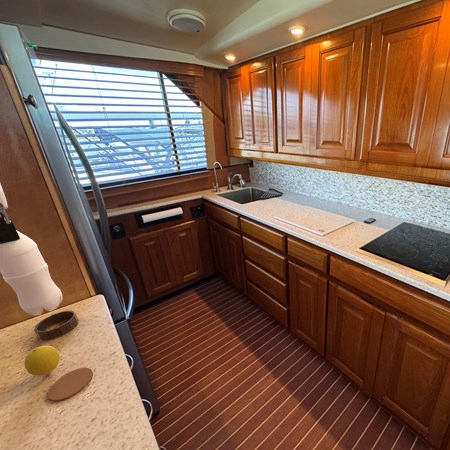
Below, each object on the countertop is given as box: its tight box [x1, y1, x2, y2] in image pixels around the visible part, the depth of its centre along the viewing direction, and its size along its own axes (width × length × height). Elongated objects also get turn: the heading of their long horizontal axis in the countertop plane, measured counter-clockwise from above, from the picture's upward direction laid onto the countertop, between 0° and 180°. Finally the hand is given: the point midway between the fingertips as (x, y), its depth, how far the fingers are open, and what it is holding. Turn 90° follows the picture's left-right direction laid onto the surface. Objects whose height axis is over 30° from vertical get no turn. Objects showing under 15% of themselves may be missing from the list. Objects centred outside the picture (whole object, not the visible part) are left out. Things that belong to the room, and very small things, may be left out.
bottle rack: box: [33, 310, 80, 341], centre depth 72 cm, size 9×9×3 cm
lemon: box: [24, 345, 60, 377], centre depth 57 cm, size 6×6×8 cm
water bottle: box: [0, 218, 63, 317], centre depth 56 cm, size 7×7×25 cm
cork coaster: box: [47, 367, 94, 403], centre depth 56 cm, size 8×8×1 cm
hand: (8, 238), depth 53 cm, fingers closed on water bottle, 4 cm apart
